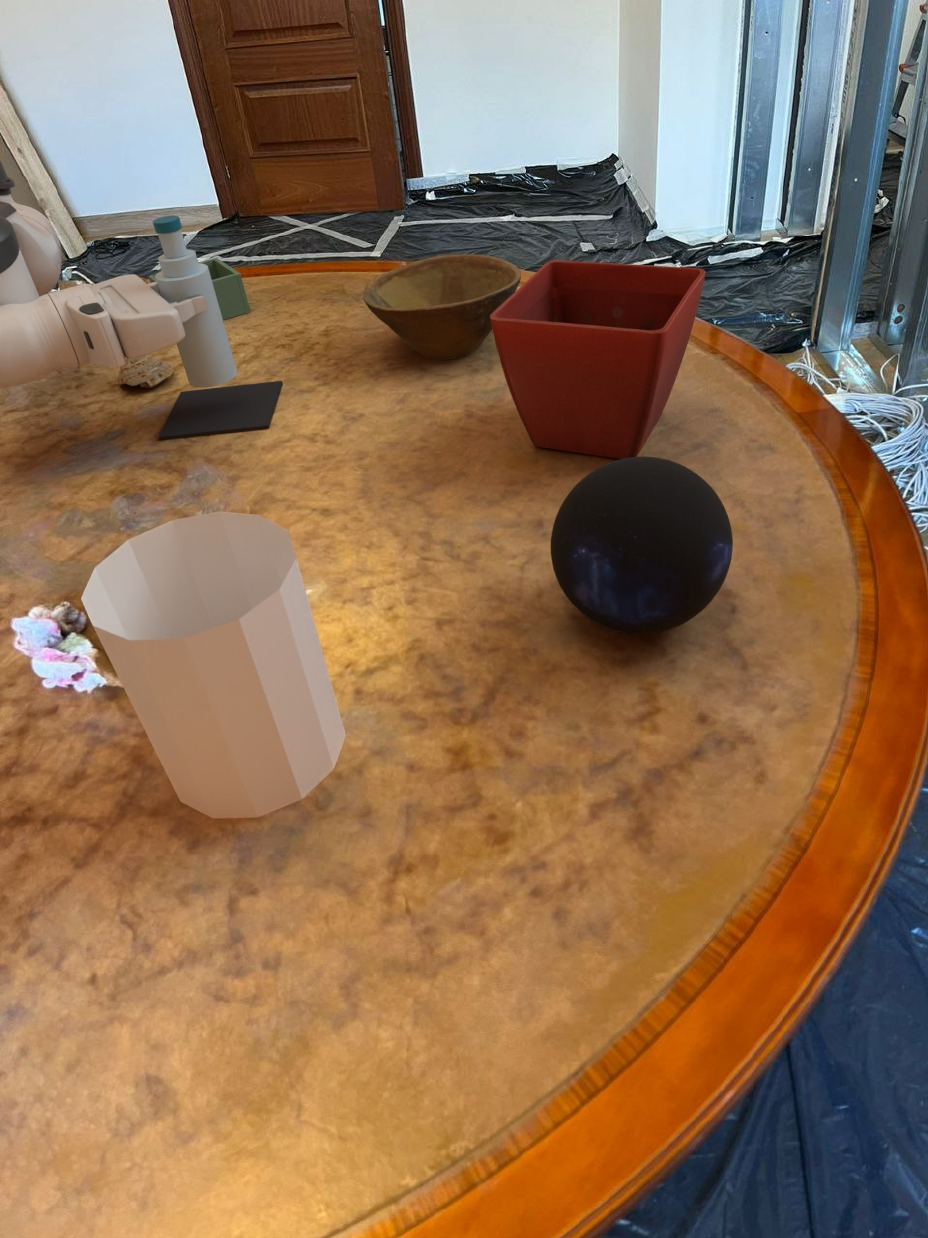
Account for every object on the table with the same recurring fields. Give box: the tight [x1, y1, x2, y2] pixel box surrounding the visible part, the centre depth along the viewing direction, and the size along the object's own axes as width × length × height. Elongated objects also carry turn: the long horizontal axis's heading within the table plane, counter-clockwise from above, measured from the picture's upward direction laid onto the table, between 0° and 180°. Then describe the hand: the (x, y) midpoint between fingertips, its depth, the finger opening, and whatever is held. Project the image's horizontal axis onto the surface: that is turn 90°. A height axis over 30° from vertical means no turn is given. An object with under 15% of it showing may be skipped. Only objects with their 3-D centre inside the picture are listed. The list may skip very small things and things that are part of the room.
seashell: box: [117, 354, 175, 389], centre depth 129 cm, size 8×6×8 cm
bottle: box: [152, 215, 238, 388], centre depth 110 cm, size 7×7×20 cm
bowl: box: [362, 253, 522, 361], centre depth 126 cm, size 22×23×10 cm
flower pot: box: [490, 259, 706, 460], centre depth 99 cm, size 19×19×17 cm
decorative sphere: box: [550, 456, 734, 635], centre depth 73 cm, size 15×15×15 cm
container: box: [80, 510, 347, 819], centre depth 64 cm, size 14×14×18 cm
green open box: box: [148, 257, 252, 321], centre depth 149 cm, size 13×13×7 cm
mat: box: [157, 380, 283, 441], centre depth 119 cm, size 15×14×1 cm
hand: (195, 293), depth 110 cm, fingers closed on bottle, 6 cm apart
